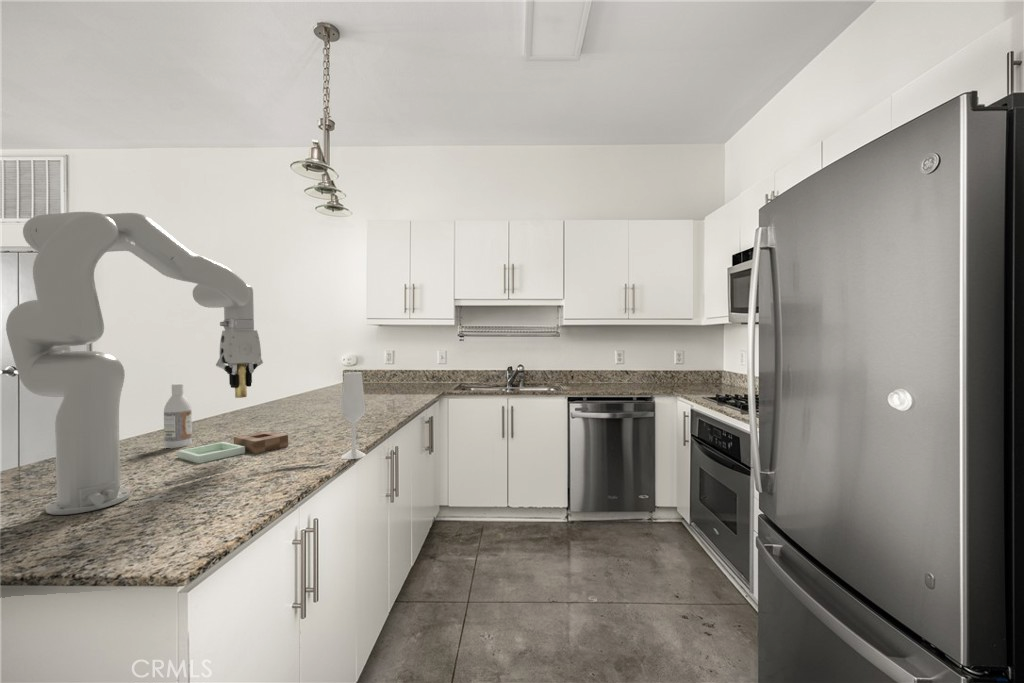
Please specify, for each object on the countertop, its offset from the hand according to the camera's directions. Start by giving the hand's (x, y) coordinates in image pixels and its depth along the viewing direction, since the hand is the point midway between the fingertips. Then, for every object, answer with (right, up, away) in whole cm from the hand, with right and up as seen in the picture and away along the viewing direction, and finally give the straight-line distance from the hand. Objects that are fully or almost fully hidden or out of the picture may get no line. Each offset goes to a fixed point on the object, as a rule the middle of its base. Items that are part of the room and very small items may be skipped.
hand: (240, 386), depth 132 cm
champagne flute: (+36, -20, -5) cm, 41 cm away
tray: (-5, -20, -5) cm, 21 cm away
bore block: (+4, -20, +4) cm, 20 cm away
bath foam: (-24, -20, +7) cm, 32 cm away
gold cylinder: (0, -3, 0) cm, 3 cm away
